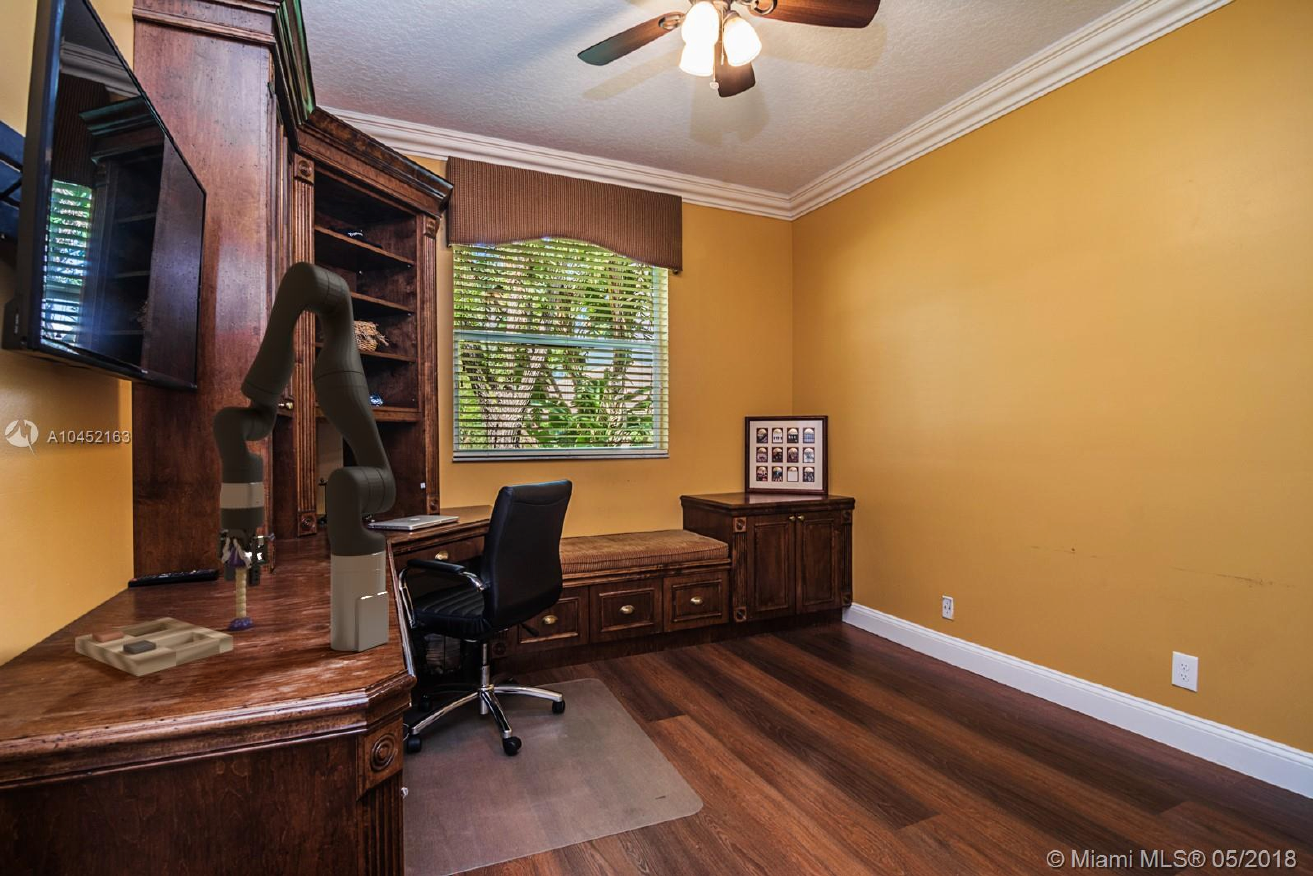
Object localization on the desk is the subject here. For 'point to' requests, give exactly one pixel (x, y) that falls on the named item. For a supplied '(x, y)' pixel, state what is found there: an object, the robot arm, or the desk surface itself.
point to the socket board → (153, 645)
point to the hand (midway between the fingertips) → (241, 583)
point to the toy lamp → (239, 591)
